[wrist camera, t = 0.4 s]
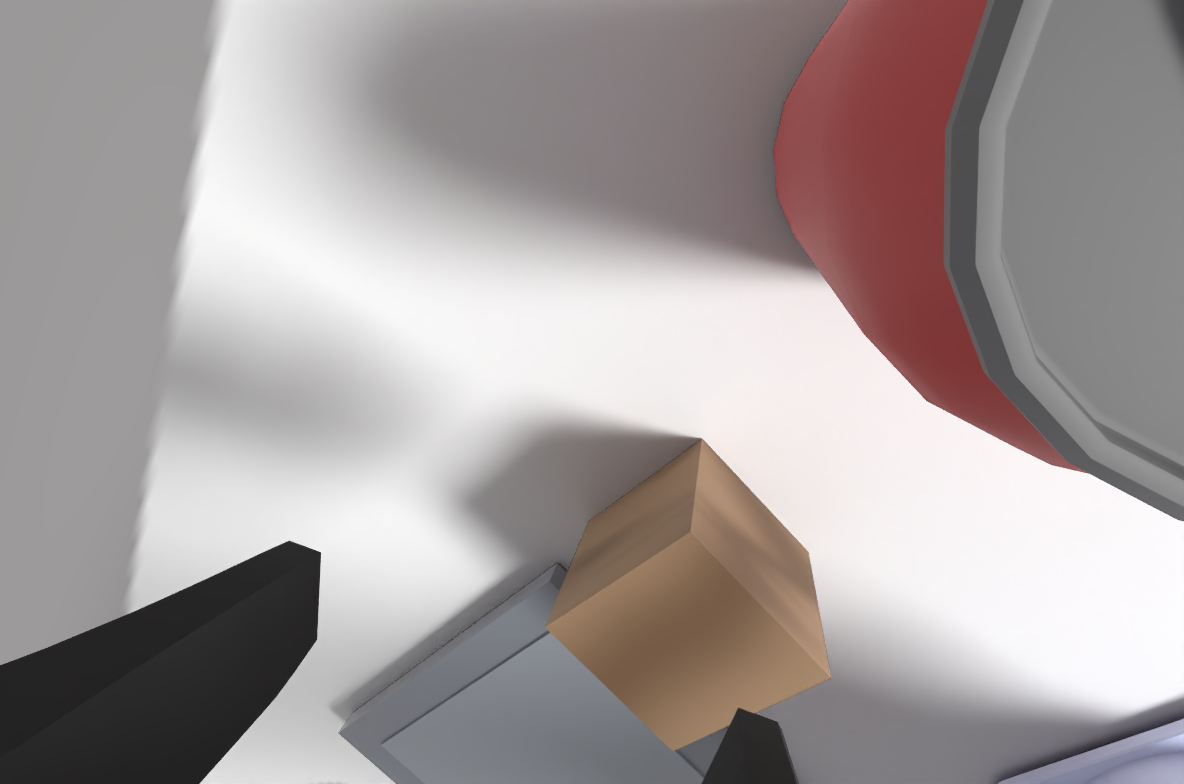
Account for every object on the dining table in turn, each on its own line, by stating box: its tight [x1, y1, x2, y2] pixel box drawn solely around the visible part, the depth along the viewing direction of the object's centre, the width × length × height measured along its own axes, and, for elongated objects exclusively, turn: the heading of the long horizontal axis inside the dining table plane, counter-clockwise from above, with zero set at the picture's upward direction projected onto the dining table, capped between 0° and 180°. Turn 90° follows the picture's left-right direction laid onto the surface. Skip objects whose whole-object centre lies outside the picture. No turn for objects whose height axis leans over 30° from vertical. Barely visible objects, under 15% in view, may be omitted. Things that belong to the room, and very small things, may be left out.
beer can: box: [773, 0, 1184, 521], centre depth 8 cm, size 7×7×12 cm
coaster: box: [339, 563, 728, 784], centre depth 24 cm, size 14×14×1 cm
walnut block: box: [545, 439, 831, 751], centre depth 17 cm, size 5×5×5 cm
